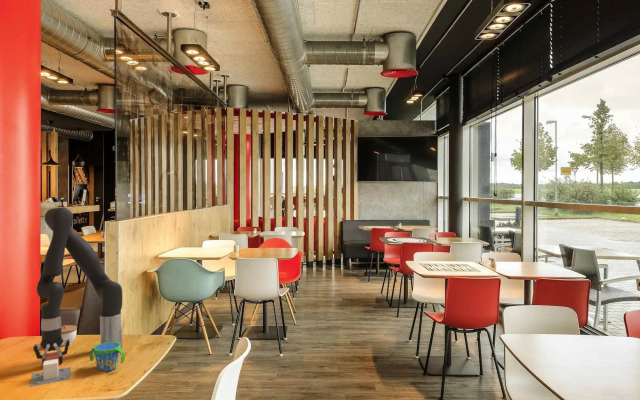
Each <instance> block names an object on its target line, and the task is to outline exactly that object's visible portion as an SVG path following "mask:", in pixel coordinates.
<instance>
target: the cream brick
mask: <svg viewBox="0 0 640 400" xmlns="http://www.w3.org/2000/svg"><path fill="white" fill-rule="evenodd" d="M42 369H43V370H42V372H43V376H44V380H47V379H52V378H58V369H59V367H58V359H54V360H48V361H44V364H43V366H42Z"/></svg>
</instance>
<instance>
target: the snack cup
mask: <svg viewBox="0 0 640 400" xmlns="http://www.w3.org/2000/svg"><path fill="white" fill-rule="evenodd" d="M119 355H120V356H121V357H120V356H119ZM119 357H120V364H123V363H124V362H125V360H126V356H125V352H124V350H123V347H122V348H120V343H117V342H107V343H102V344H101V343H99V344H97V345H95V346H94V347H93V348H91V350H90V353H89V360H90V361H91V362H93V361H94V360H95V363H96V367H97V370H98V371H100V372H101V371H103V372H104V371H105V373H108V372H112V371H115V370H116V369H117V368H118V361H119Z"/></svg>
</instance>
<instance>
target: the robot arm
mask: <svg viewBox="0 0 640 400" xmlns="http://www.w3.org/2000/svg"><path fill="white" fill-rule="evenodd" d="M73 220H74V214H73V212H72V210H71V209H69V208H67V207H53V208H50V209H48V210H47V211H46V212H45V214H44V221H45V223H46V225H47V227H49V229H50V230H51V231H52V237H51V241H50V243H49V246H48V249H47V250H46V252H45V253H46V254H45V256H44V257H45V258H44V263H43V271H42V273H41V276H40V278H39V281H38V282H37V286H36V293H37V295H38V296H39V297H40V298H44V299H48V302H47V303H46V302H45V304H42V306H41V312H40V313H41V321H40V331H41V340H40V341H41V342H40V343H37V344H34V345H33V351H34V353H35V356H36V359H37V360H41V361H42V362H41V364H42V367H43V364H44V361H45V356H46V354H47V353H49V352H51V351H54V352H57V353H58V354H59V366H61V365H62V364H63V362H64V361H63V359H64V358H63V356H65V355H67V354H68V350H69V345H70V344H69V343H70V340H69V339H68V340H63V339H62V331H61V326H62V318H61V317H62V316H61V306H62V305H61V304H62V301H63V298H64V291H65V290H64V289H65V288H64V286H63V284H62V283H61V282H59V281H54V279H55V278H56V277H58V276H61V274H62V273H63V264H64V257H65V251H67V252H68V253H69V255H70V256H71V258H72V260H73V261H74V262H75V263H76V265H77V266H78V268H79V269H80V270H81V271H82V273H83V274H84V275H85V276H86V277H87V278H88V280H89V282H90V283H91V284H92V287H93V289H94V291H95V292H96V294H97V296H98V297H99V298H100V299H101V300H102V307H101V308H100V310H99V326H100V327H99V332H100V333H99V334H100V335H99V337H100V344H102V343H107V342H117V343H120V348H122V349H123V330H122V308H123V288H122V285H121V284H120V283H119V282H117V281H113V280H111V278H110V277H109V276H108V275H107V273H106V272H105V271H104V269H103V267H102V264H101V261H100V257H99V255H98V254H97V253H96V251H95V249H94V248H93V246H92V245H91V244H90V243H89V242H88V241H87V240H86V239H85V238H84V237H82V236H81V235H80V234H79V233H77V231H76V230H75V229H74V228H73V226H72V225H73V222H74V221H73ZM62 343H64V345H65V346H64V350H63V351H62V348H61V346H60V345H61V344H62ZM40 348H43V354H41V353H40Z"/></svg>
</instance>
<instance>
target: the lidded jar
mask: <svg viewBox="0 0 640 400" xmlns="http://www.w3.org/2000/svg"><path fill="white" fill-rule="evenodd" d="M77 328H78V326H76V325H73V324H71V325H70V324H68V325H66V324H63V326H62V325H61V331H62V339H63V340H68V339H69V340H70V343H69V345H71V344H73V342H74V340H75V339H76V337H77V334H78V333H77V332H78V329H77ZM62 346H63V347H65V345H64V343H62V344H61V345H60V347H62Z"/></svg>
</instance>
